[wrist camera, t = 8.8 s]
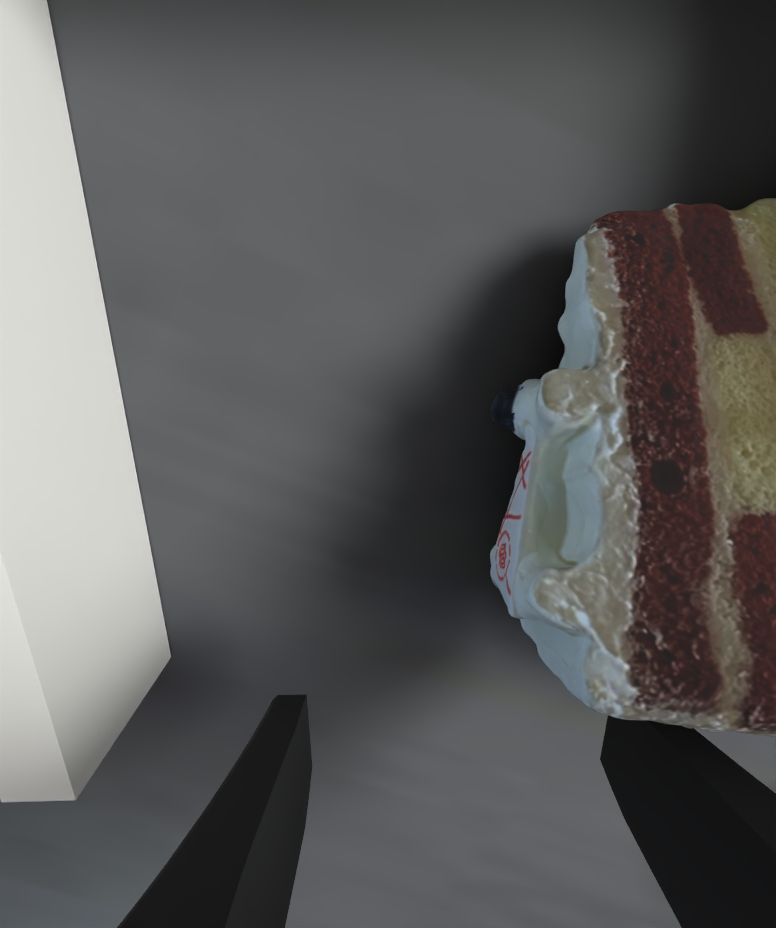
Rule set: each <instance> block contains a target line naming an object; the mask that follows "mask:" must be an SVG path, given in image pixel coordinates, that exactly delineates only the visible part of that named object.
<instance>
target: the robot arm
mask: <svg viewBox="0 0 776 928" xmlns="http://www.w3.org/2000/svg"><path fill="white" fill-rule="evenodd" d="M600 760H601V763H602V765H603V768H604V770H605V773H606V775H607V778H608V780H609V783H610V785H611V788H612V790H613V793H614V795H615V797H616V800H617V802H618V805H619V807H620V809H621V812H622V814H623V816H624V818H625V820H626V822H627V824H628V826H629V828H630V830H631V832H632V834H633V836H634V838H635V840H636V842H637V844H638V846H639V847H640V849H641V851H642V853H643V855H644V857H645V859H646V861H647V863H648V865H649V867H650V869H651V870H652V872H653V874H654V876H655V878H656V880H657V882H658V884H659V886H660V887H661V889H662V891H663V893H664V895H665V897H666V899H667V901H668V902H669V904H670V906H671V908H672V910H673V912H674V914H675V916H676V918H677V919H678V921H679V923H680V925H681V927H682V928H776V794H775V793H774V792H773V791H772V790H770V789H769V788H768V787H766V786H765V785H764V784H763V783H761V782H760V781H759V780H757V779H756V778H755V777H754V776H752V775H751V774H750V773H749V772H747V771H746V770H745V769H743V768H742V767H741V766H740V765H738V764H737V763H736V762H735V761H733V760H732V759H731V758H730V757H728V756H727V755H726V754H725V753H723V752H722V751H721V750H720V749H718V748H717V747H716V746H715V745H713V744H712V743H711V742H710V741H708V740H707V739H706V738H705V737H704V736H702V735H701V734H700V733H699V732H697V731H696V730H695V729H694V728H692V729H691V728H686V727H684V726H680V725H671V724H664V723H660V722H656V721H650V720H625V719H620V718H615V717H612V716H609V715H608V719H607V724H606V730H605V735H604V741H603V746H602V752H601V757H600ZM311 772H312V759H311V747H310V734H309V721H308V709H307V696H306V695H278V696H277V697H276V698H274V699H273V701H272V703H271V704H270V706H269V708H268V710H267V712H266V713H265V715H264V717H263V719H262V720H261V722H260V724H259V726H258V727H257V729H256V731H255V732H254V734H253V736H252V738H251V739H250V741H249V742H248V744H247V746H246V747H245V749H244V751H243V752H242V754H241V755H240V757H239V759H238V760H237V762H236V763H235V765H234V766H233V768H232V770H231V771H230V773H229V774H228V776H227V777H226V779H225V780H224V782H223V783H222V785H221V786H220V788H219V789H218V791H217V792H216V794H215V795H214V797H213V798H212V800H211V802H210V803H209V804H208V806H207V807H206V809H205V810H204V812H203V813H202V815H201V816H200V817H199V819H198V820H197V822H196V823H195V824H194V826H193V827H192V829H191V830H190V831H189V833H188V834H187V836H186V837H185V838H184V840H183V841H182V843H181V844H180V845H179V847H178V848H177V850H176V851H175V852H174V854H173V855H172V857H171V858H170V859H169V861H168V862H167V864H166V865H165V866H164V868H163V869H162V870H161V872H160V873H159V874H158V876H157V877H156V878H155V880H154V881H153V882H152V884H151V885H150V886H149V888H148V889H147V890H146V892H145V893H144V894H143V895H142V897H141V898H140V899H139V901H138V902H137V903H136V904H135V906H134V907H133V908H132V910H131V911H130V912H129V913H128V915H127V916H126V917H125V918H124V920H123V921H122V922H121V923H120V925H119V926H118V927H117V928H285V924H286V919H287V914H288V909H289V904H290V899H291V894H292V889H293V885H294V880H295V875H296V870H297V865H298V860H299V855H300V850H301V845H302V840H303V835H304V830H305V823H306V815H307V807H308V799H309V790H310V781H311Z"/></svg>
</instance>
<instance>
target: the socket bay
mask: <svg viewBox="0 0 776 928" xmlns="http://www.w3.org/2000/svg"><path fill="white" fill-rule="evenodd" d="M170 658H171V654H170V649H169V643H168V638H167V633H166V627H165V622H164V617H163V612H162V606H161V601H160V596H159V590H158V585H157V580H156V575H155V569H154V564H153V559H152V553H151V548H150V543H149V538H148V532H147V527H146V522H145V516H144V511H143V506H142V501H141V495H140V490H139V485H138V479H137V474H136V469H135V464H134V458H133V453H132V448H131V442H130V437H129V432H128V427H127V421H126V416H125V411H124V405H123V400H122V395H121V390H120V384H119V379H118V374H117V368H116V363H115V358H114V353H113V347H112V342H111V337H110V331H109V326H108V321H107V316H106V310H105V305H104V300H103V294H102V289H101V284H100V279H99V273H98V268H97V263H96V257H95V252H94V247H93V242H92V236H91V231H90V226H89V220H88V215H87V210H86V205H85V199H84V194H83V189H82V183H81V178H80V173H79V168H78V162H77V157H76V152H75V147H74V141H73V136H72V131H71V125H70V120H69V115H68V110H67V104H66V99H65V94H64V88H63V83H62V78H61V73H60V67H59V62H58V57H57V51H56V46H55V41H54V36H53V30H52V25H51V20H50V14H49V9H48V4H47V0H0V799H1V802H31V801H67V800H76V799H77V798H78V796H79V795H80V793H81V792H82V790H83V789H84V787H85V786H86V784H87V783H88V781H89V780H90V778H91V777H92V775H93V774H94V772H95V771H96V769H97V768H98V766H99V765H100V763H101V762H102V760H103V759H104V757H105V756H106V754H107V753H108V751H109V750H110V748H111V747H112V745H113V744H114V742H115V741H116V739H117V738H118V736H119V735H120V733H121V732H122V730H123V729H124V727H125V726H126V724H127V723H128V721H129V720H130V718H131V717H132V715H133V714H134V712H135V711H136V709H137V708H138V706H139V705H140V703H141V702H142V700H143V699H144V697H145V696H146V694H147V693H148V691H149V690H150V688H151V687H152V685H153V684H154V682H155V681H156V679H157V678H158V676H159V675H160V673H161V672H162V670H163V669H164V667H165V666H166V664H167V663H168V661H169V660H170Z"/></svg>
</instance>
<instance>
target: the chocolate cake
mask: <svg viewBox="0 0 776 928" xmlns="http://www.w3.org/2000/svg"><path fill="white" fill-rule="evenodd" d="M565 299H566V308H565V311H564V313H563V315H562V316H561V318H560V320H559V323H558V331H559V334H560V336H561V338H562V341H563V343H564V346H565V352H564V355H563V358H562V360H561V362H560V365H559V368H558V369H555V370H551V371H549V372H547V373H546V374H544V375H543V376H542V378H541V379H528V380H526V381H525V382H523V383H522V384H521V385H514V386H507V387H504V388H502V389H501V390H500V391H499V392H498V394H497V395H496V397H495V399H494V401H493V403H492V406H491V417H492V420H493V422H494V423H495V424H496V425H497V426H499V427H501V428H504V429H506V430H510V431H512V432H513V433H514V434H516V435H517V436H518V437H520V438H521V439H523V440H526V446H525V449H524V451H523V453H522V456H521V461H520V466H519V470H518V474H517V477H516V480H515V486H514V491H513V494H512V496H511V498H510V502H509V506H508V509H507V512H506V514H505V516H504V519H503V522H502V525H501V528H500V532H499V535H498V539H497V542H496V545H495V546H494V547H493V548H492V550H491V553H490V560H491V565H492V566H491V571H490V575H491V579H492V582H493V583H494V585H496V587H497V588H498V589H499V590H500V592H501V594H502V596H503V599H504V601H505V603H506V605H507V607H508V611H509V614H510V615H511V616H512V617H514V618H518V619H520V621H521V625H522V628H523V630H524V631H525V633H526V634H528V635H529V636H530V637H531V638H532V640H533V641H534V643H535V644H536V645H537V650H538V654H539V656H540V657H541V659H542V660H543V662H544V663H545V664H546V666H548V668H549V669H550V670H551V671H552V672H553V674H554V675H555V676H556V677H557V678H559V679H560V680H561V681H562V682H563V684H564V685H565V686H566V688H567V689H568V691H569V692H570V693H571V694H572V695H573V696H575V697H576V698H577V699H578V700H580V701H581V702H583V703H584V704H585V705H586V706H588V707H589V708H591V709H593V710H594V711H597V712H600V713H603V714H606V715H609V716H612V717H615V718H620V719H625V720H650V721H656V722H660V723H664V724H671V725H680V726H684V727H686V728H691V729H692V728H699V729H703V730H708V731H712V732H720V731H735V732H740V733H744V734H751V735H766V736H773V737H776V198H766V199H760V200H757V201H755V202H754V203H752V204H750V205H749V206H747V207H745V208H743V209H741V210H735V211H730V210H726V209H725V208H723V207H722V206H720V205H717V204H713V203H699V204H693V205H685V204H679V203H674V204H672V205H669V206H668V207H666V208H663V209H660V210H655V211H617V212H612V213H609V214H607V215H605V216H603V217H601V218H599V219H597V220H596V221H594V222H593V224H592V225H591V227H590V229H589V231H588V232H587V234H585V235H583V236H581V237H580V238H579V239H578V240H577V242H576V245H575V252H574V261H573V269H572V273H571V275H570V277H569V279H568V280H567V282H566V288H565Z"/></svg>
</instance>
